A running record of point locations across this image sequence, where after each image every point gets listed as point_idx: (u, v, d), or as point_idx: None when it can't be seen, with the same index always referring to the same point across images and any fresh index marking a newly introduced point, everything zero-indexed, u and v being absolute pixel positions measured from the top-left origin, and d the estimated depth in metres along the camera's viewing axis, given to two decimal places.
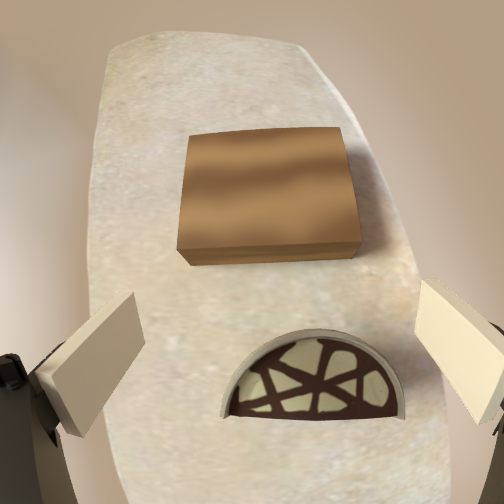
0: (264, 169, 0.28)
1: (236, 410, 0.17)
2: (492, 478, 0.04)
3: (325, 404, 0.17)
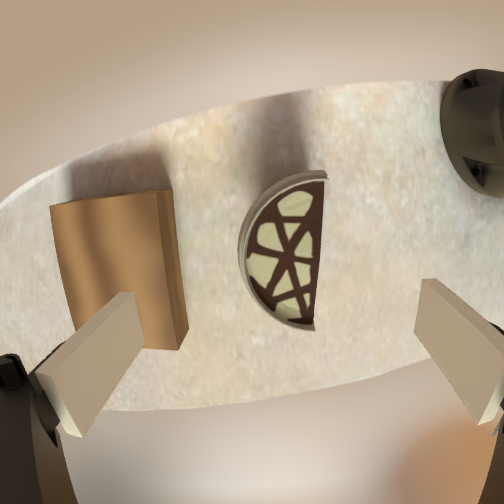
0: (99, 280, 0.29)
1: (308, 318, 0.23)
2: (492, 478, 0.04)
3: (305, 251, 0.21)
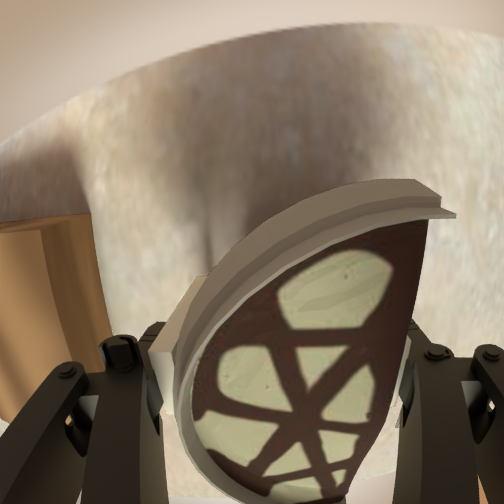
0: None
1: (336, 497, 0.08)
2: (400, 476, 0.05)
3: (352, 411, 0.07)
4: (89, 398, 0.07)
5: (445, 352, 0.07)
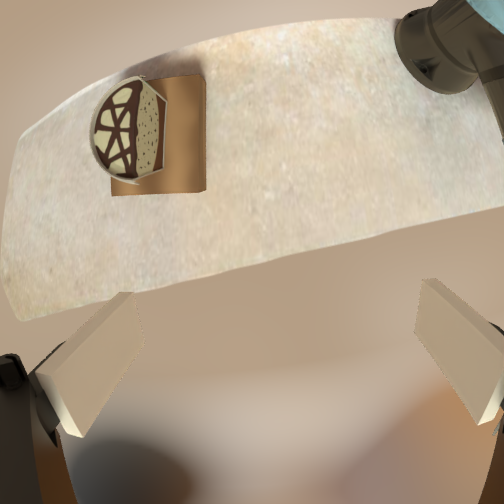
0: None
1: (130, 173, 0.30)
2: (492, 478, 0.04)
3: (126, 123, 0.28)
4: None
5: None
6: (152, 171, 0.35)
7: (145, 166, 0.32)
